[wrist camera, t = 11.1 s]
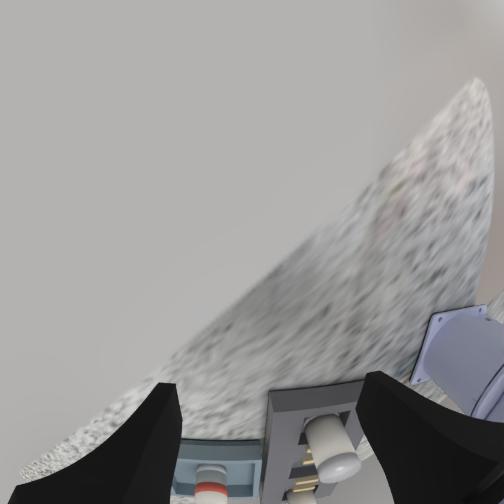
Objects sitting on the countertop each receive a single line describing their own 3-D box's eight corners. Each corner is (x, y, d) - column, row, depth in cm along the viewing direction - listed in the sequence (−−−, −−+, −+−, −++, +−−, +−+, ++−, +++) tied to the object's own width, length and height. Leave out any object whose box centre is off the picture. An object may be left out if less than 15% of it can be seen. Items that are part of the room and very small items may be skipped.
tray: (259, 440, 21) (262, 459, 19) (255, 482, 24) (257, 497, 21) (157, 436, 20) (152, 455, 18) (173, 480, 23) (172, 495, 20)
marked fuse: (229, 464, 21) (231, 513, 15) (224, 476, 22) (226, 522, 16) (197, 460, 21) (194, 510, 15) (195, 473, 22) (192, 519, 15)
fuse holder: (368, 379, 21) (383, 400, 18) (325, 482, 25) (331, 498, 22) (269, 391, 20) (274, 418, 17) (258, 491, 24) (261, 509, 21)
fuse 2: (340, 403, 20) (367, 457, 13) (332, 425, 20) (354, 477, 14) (304, 408, 19) (325, 467, 13) (299, 430, 20) (315, 486, 14)
